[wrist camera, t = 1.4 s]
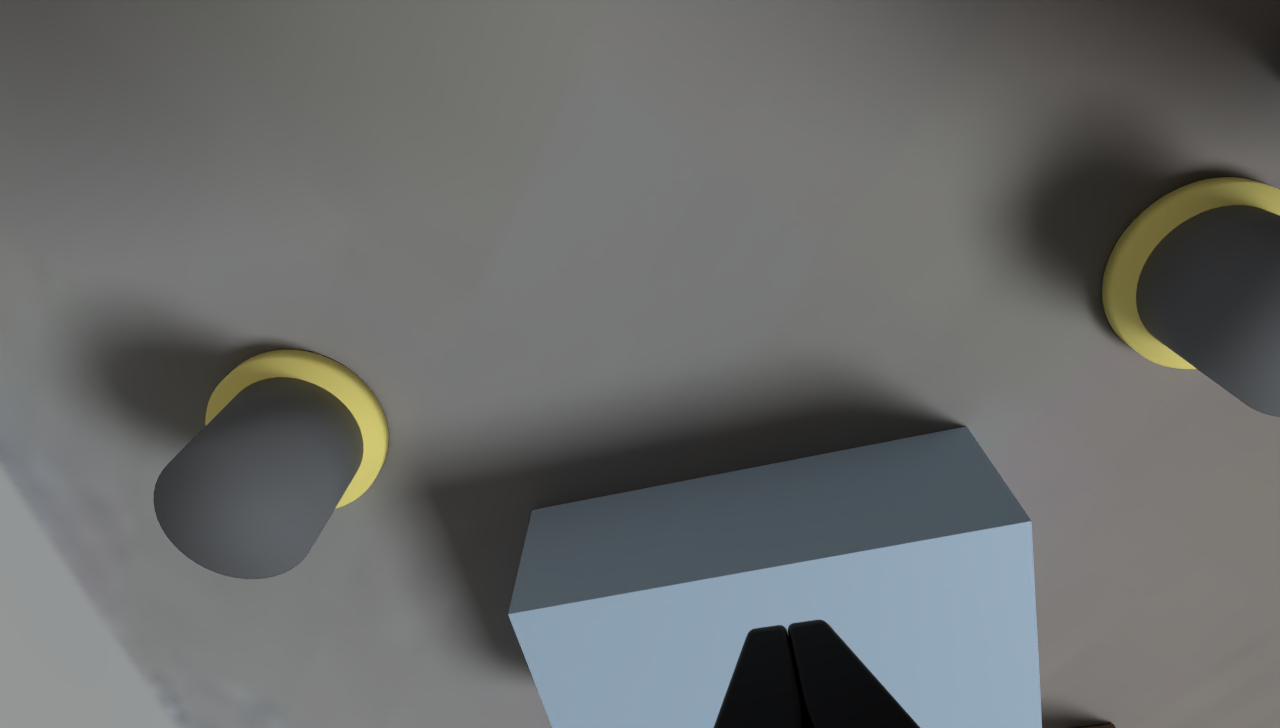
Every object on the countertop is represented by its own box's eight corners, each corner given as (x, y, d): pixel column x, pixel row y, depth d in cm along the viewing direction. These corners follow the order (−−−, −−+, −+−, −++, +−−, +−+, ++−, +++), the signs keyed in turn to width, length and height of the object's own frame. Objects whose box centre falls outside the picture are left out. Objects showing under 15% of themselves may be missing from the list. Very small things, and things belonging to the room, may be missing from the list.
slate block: (962, 421, 22) (1031, 521, 18) (980, 619, 25) (1042, 744, 21) (533, 504, 24) (507, 614, 20) (596, 683, 27) (585, 812, 23)
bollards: (1314, 159, 19) (1469, 203, 15) (1288, 341, 21) (1422, 418, 17) (187, 366, 22) (94, 444, 18) (256, 511, 24) (183, 608, 20)
